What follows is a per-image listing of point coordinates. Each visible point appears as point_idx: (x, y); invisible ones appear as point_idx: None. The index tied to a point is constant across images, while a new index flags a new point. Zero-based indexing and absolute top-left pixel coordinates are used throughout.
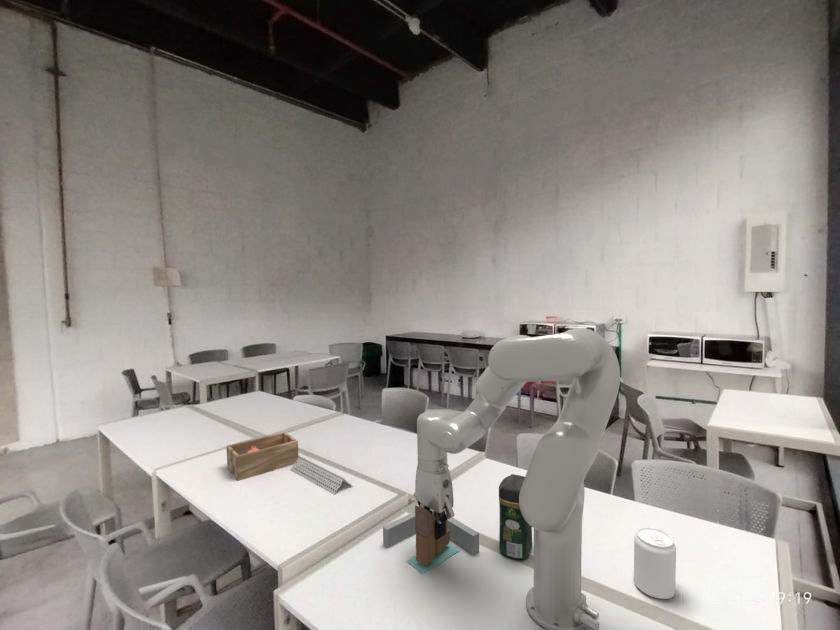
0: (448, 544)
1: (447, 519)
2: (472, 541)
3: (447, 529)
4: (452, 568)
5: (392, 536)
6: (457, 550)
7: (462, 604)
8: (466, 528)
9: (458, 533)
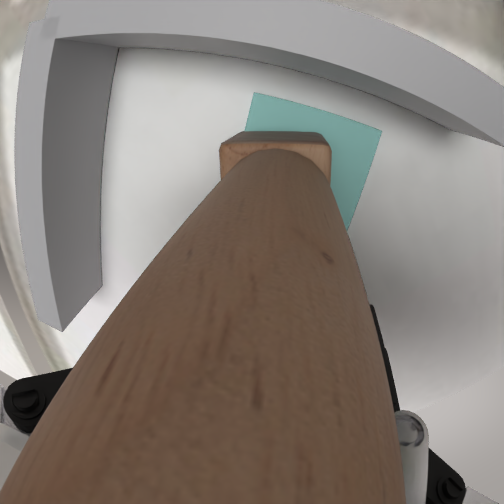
0: (301, 117)
1: (434, 462)
2: (478, 136)
3: (310, 147)
4: (396, 260)
5: (80, 286)
6: (371, 138)
7: (456, 362)
8: (439, 73)
9: (365, 83)
